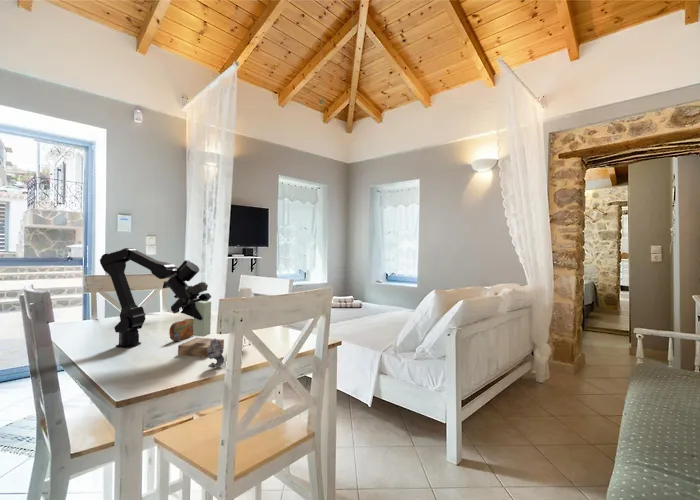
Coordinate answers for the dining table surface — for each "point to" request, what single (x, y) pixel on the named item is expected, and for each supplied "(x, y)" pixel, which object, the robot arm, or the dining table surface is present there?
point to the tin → (181, 329)
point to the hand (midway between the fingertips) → (205, 318)
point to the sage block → (202, 325)
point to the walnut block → (196, 347)
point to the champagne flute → (245, 293)
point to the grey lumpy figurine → (215, 353)
